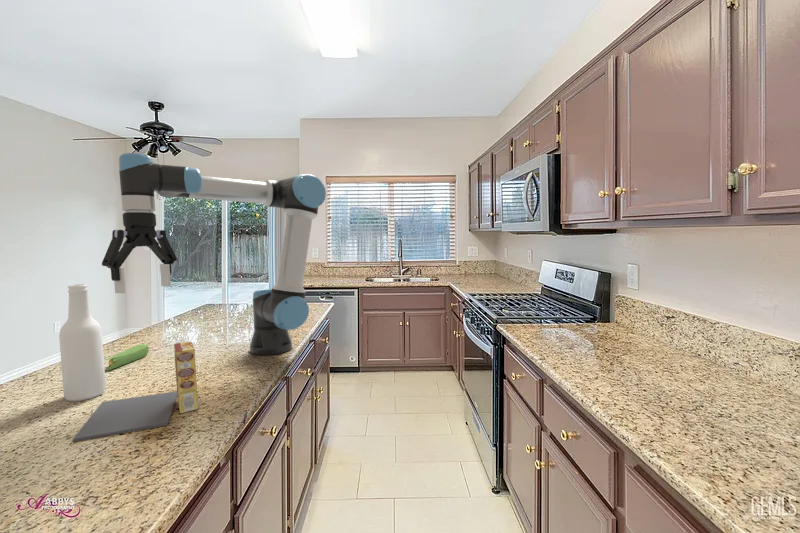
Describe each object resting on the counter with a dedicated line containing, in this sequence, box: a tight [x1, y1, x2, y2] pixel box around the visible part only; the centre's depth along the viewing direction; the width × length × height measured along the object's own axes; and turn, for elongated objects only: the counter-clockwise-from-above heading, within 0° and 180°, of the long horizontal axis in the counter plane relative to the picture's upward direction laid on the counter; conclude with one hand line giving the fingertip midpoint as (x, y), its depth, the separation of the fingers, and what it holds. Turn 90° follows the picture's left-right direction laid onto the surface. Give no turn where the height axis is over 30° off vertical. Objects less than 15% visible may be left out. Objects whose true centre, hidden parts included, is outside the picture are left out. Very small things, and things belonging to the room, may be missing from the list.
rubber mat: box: [72, 390, 178, 442], centre depth 93 cm, size 17×20×1 cm
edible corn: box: [105, 343, 150, 372], centre depth 132 cm, size 5×20×5 cm
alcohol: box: [58, 283, 107, 402], centre depth 103 cm, size 9×9×30 cm
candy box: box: [173, 341, 199, 414], centre depth 97 cm, size 9×4×15 cm, turn 33°
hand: (144, 289), depth 107 cm, fingers open, 13 cm apart
